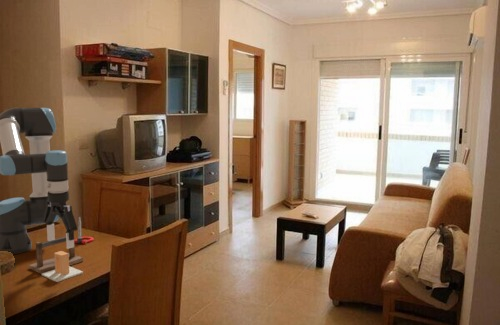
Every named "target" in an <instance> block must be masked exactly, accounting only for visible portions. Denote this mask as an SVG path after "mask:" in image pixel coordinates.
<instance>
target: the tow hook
mask: <svg viewBox="0 0 500 325" xmlns="http://www.w3.org/2000/svg"><path fill="white" fill-rule="evenodd" d="M77 222H78V225H77V229H78V230H77V231H78V233H77V238H76V239H75V238H74V244H81V245H86V244H87V243H91V242H93V241H95V240H94V239H95V238H94V237H92V236H82V221H81V216H79V217H78V221H77Z"/></svg>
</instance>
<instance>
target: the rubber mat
mask: <svg viewBox="0 0 500 325" xmlns="http://www.w3.org/2000/svg"><path fill="white" fill-rule="evenodd" d="M82 274H84V271H83V270H81V269H77V268H76V267H73V266H71V265H70V266H69V273H68V274H65V275H61V273H60V272H59V273H56V272H55V270H51V271H48V272H45V273H42V274H41V276H42V277H45V278H47V279H49V280H51V281H53V282H56V283H59V282H61V281H65V280H68V279H70V278H73V277H76V276H78V275H82Z"/></svg>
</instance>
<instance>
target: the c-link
mask: <svg viewBox="0 0 500 325" xmlns="http://www.w3.org/2000/svg"><path fill="white" fill-rule="evenodd" d="M68 253H69V252H66V251H63V250H59V251H57V252H54V254H53V255H54V256H53V258H55V272H56V273H59V272H60V273H61V275H65V274H68V273H69V255H68Z"/></svg>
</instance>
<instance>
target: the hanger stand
mask: <svg viewBox="0 0 500 325" xmlns="http://www.w3.org/2000/svg"><path fill="white" fill-rule="evenodd" d="M65 242H66V236H62V237H59V238H55V240H52V241H48V240H47V241H44V242H41V241H37V242H35V251H36V262H35V263H32V264H28V268H29V269H30V270H31V271H34V272H36V273H38V274H41V275H42V273H45V272H48V271H51V270H55V258H54V257H51V258H47V259H45V260H44V258H43V256H44V255H43V248H47V247H50V246H54V245H57V244H61V243H65ZM67 253H68V255H69V266H70V267H71V266H72V265H76V264H79V263H81V262H84V257H81V256H79V255H77V254H75V253H76V251H75V246H74V247H73V248H69V249H68V252H67Z"/></svg>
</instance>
